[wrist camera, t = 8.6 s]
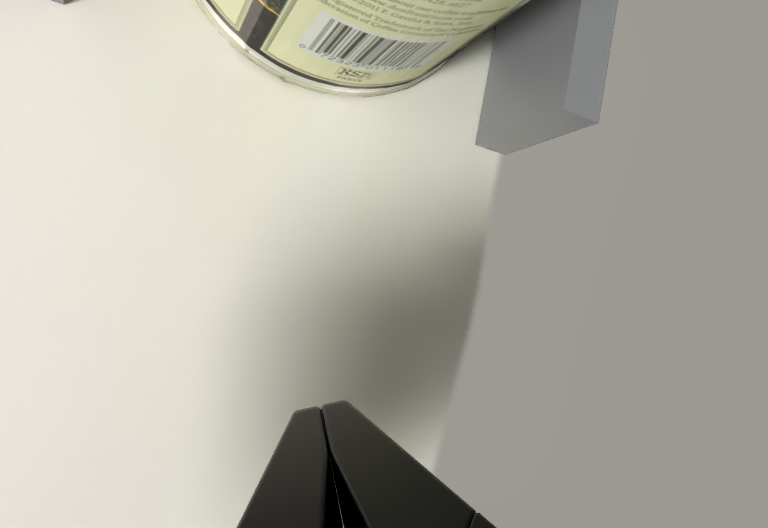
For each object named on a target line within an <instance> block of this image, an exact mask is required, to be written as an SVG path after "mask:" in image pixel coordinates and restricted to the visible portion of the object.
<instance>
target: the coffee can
mask: <svg viewBox="0 0 768 528" xmlns="http://www.w3.org/2000/svg"><path fill="white" fill-rule="evenodd" d="M529 1H531V0H196V2H197V4H198V5H199V7H200V8H201V10H202V11H203V12H204V14H205V15H206V16H207V18H208V19H209V20H210V21H211V23H212V24H213V25H214V26H215V28H216V29H217V30H218V31H219V32H220V33H221V34H222V35H223V36H224V37H225V38H226V39H227V40H228V41H229V42H230V43H231V44H232V45H233V46H234V47H235V48H236V49H237V50H239V51H240V52H241V53H242V54H243V55H244V56H246V57H247V58H249V59H250V60H251V61H253V62H254V63H255V64H257V65H258V66H260V67H261V68H263V69H265V70H266V71H268V72H270V73H272V74H274V75H275V76H277V77H279V78H280V79H282V80H283V81H285V82H288V83H292V84H295V85H297V86H300V87H303V88H306V89H309V90H313V91H316V92H320V93H325V94H330V95H336V96H344V97H369V96H377V95H383V94H387V93H391V92H396V91H398V90H403V89H407V88H409V87H411V86H413V85H415V84H416V83H418V82H420V81H421V80H423V79H425V78H427V77H428V76H430V75H431V74H433V73H434V72H435V71H437V70H438V69H439V68H440V67H441V66H442V65H443V64H444V63H445V62H446V61H447V60H448V59H449V58H451V57H453V56H454V55H455V54H456V53H458V52H459V51H461V50H462V49H463V48H465V47H466V46H467V45H469V44H470V43H472V42H474V41H475V40H477V39H478V38H479V37H481V36H482V35H483V34H484V33H486V32H487V31H488V30H490V29H491V28H493V27H494V26H496V25H497V24H498V23H500V22H501V21H503V20H504V19H505V18H507V17H508V16H509V15H511V14H512V13H514V12H515V11H517V10H518V9H519V8H521V7H522V6H524V5H525V4H527V3H528V2H529Z"/></svg>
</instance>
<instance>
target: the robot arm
mask: <svg viewBox="0 0 768 528" xmlns="http://www.w3.org/2000/svg"><path fill="white" fill-rule="evenodd" d="M321 412H322V414H321ZM322 417H323V419H322ZM323 423H324V424H323ZM324 428H325V429H324ZM325 433H326V434H325ZM326 438H327V439H326ZM330 459H331V460H330ZM331 464H332V465H331ZM333 475H334V476H333ZM334 480H335V481H334ZM335 485H336V486H335ZM336 490H337V491H336ZM337 495H338V497H337ZM338 500H339V502H338ZM339 506H340V507H339ZM340 511H341V513H340ZM341 516H342V518H341ZM342 521H343V523H342ZM343 526H344V528H496V527H495V526H494V525H493V524H491V523H490V522H489V521H488V520H487V519H486V518H484V517H483V516H482V515H481V514H480V513H476V511H475V510H474V509H473V508H472V507H470V506H469V505H468V504H467V503H466V502H465V501H463V500H462V499H461V498H460V497H459V496H458V495H456V494H455V493H454V492H453V491H452V490H450V489H449V488H448V487H447V486H446V485H445V484H443V483H442V482H441V481H440V480H439V479H438V478H436V477H435V476H434V475H433V474H432V473H431V472H429V471H428V470H427V469H426V468H425V467H424V466H422V465H421V464H420V463H419V462H418V461H417V460H415V459H414V458H413V457H412V456H411V455H410V454H408V453H407V452H406V451H405V450H404V449H403V448H401V447H400V446H399V445H398V444H397V443H395V442H394V441H393V440H392V439H391V438H390V437H388V436H387V435H386V434H385V433H384V432H383V431H381V430H380V429H379V428H378V427H377V426H376V425H374V424H373V423H372V422H371V421H370V420H369V419H367V418H366V417H365V416H364V415H363V414H362V413H360V412H359V411H358V410H357V409H356V408H354V407H353V406H352V405H351V404H350V403H349V402H347V401H345V400H343V401H338V402H334V403H329V404H325V405H323V406H322V408H321V410H320V408H319V407H311V408H307V409H302V410H298V411H295V412H294V413H293V415H292V417H291V419H290V421H289V423H288V425H287V427H286V429H285V431H284V433H283V435H282V437H281V439H280V441H279V443H278V445H277V447H276V449H275V451H274V453H273V455H272V457H271V459H270V461H269V463H268V465H267V467H266V469H265V471H264V473H263V475H262V477H261V480H260V482H259V484H258V486H257V488H256V490H255V492H254V494H253V496H252V498H251V500H250V502H249V504H248V506H247V508H246V510H245V512H244V514H243V516H242V518H241V520H240V522H239V524H238V526H237V528H343Z"/></svg>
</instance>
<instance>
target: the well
mask: <svg viewBox="0 0 768 528" xmlns="http://www.w3.org/2000/svg"><path fill="white" fill-rule="evenodd" d="M52 1H55V2H58V3H61V4H64V2H65V0H52ZM617 3H618V0H531V1H529V2H528V3H527V4H525V5H524V6H522V7H521V8H519V9H518V10H517V11H515V12H514V13H512V14H511V15H509V16H508V17H507V18H505V19H504V20H503V21H501V22H500V23H498V24H497V27H496V33H495V38H494V44H493V49H492V55H491V60H490V66H489V71H488V77H487V83H486V88H485V94H484V99H483V105H482V110H481V116H480V121H479V127H478V132H477V138H476V144H475V145H478V146H481V147H484V148H487V149H490V150H493V151H496V152H499V153H502V154H505V155H506V154H509V153H512V152H515V151H518V150H521V149H524V148H527V147H530V146H532V145H535V144H538V143H541V142H544V141H547V140H550V139H553V138H556V137H559V136H562V135H564V134H567V133H570V132H573V131H576V130H579V129H582V128H585V127H588V126H591V125H593V124H597V123H599V117H600V111H601V104H602V98H603V92H604V86H605V79H606V73H607V67H608V60H609V54H610V47H611V41H612V35H613V29H614V22H615V16H616V10H617Z"/></svg>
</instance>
